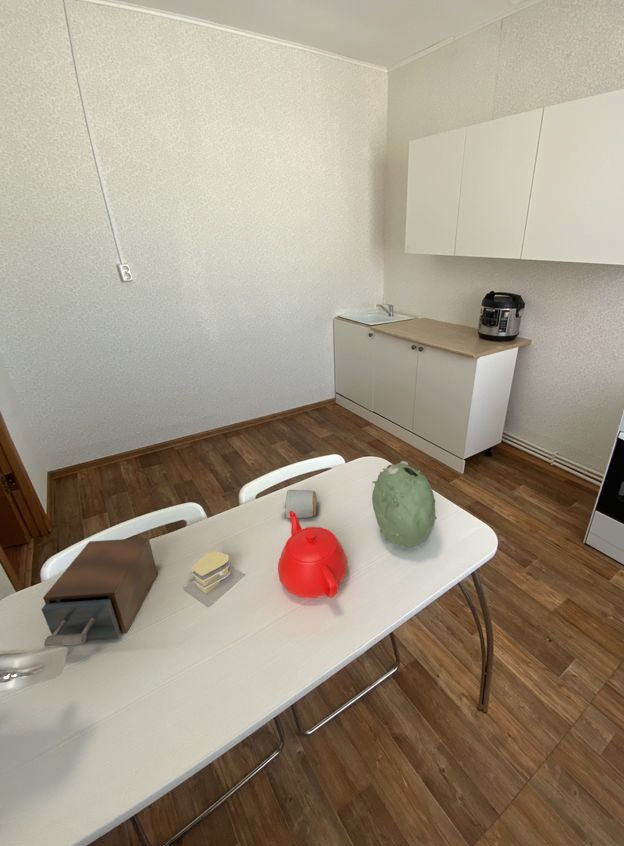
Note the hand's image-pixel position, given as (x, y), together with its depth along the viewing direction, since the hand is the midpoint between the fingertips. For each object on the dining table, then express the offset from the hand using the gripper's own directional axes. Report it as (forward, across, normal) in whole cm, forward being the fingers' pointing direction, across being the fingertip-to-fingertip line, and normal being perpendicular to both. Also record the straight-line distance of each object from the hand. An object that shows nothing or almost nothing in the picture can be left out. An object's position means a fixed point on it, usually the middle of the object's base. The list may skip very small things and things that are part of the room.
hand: (19, 658), depth 57 cm
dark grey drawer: (+20, 0, -3) cm, 20 cm away
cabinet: (+24, 0, -6) cm, 24 cm away
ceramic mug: (+43, -38, -24) cm, 62 cm away
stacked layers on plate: (+27, -20, -8) cm, 34 cm away
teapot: (+27, -42, -8) cm, 51 cm away
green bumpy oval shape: (+34, -65, -15) cm, 75 cm away
